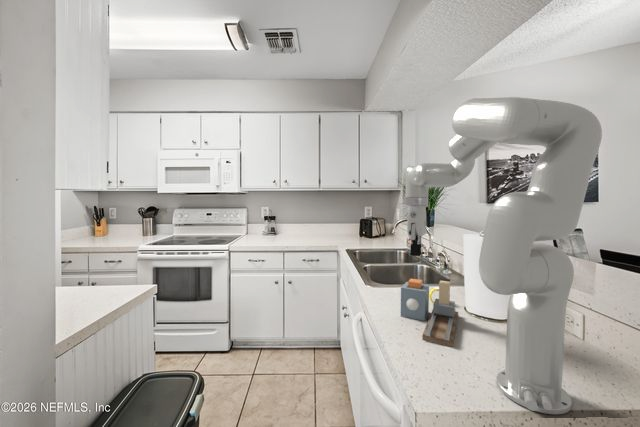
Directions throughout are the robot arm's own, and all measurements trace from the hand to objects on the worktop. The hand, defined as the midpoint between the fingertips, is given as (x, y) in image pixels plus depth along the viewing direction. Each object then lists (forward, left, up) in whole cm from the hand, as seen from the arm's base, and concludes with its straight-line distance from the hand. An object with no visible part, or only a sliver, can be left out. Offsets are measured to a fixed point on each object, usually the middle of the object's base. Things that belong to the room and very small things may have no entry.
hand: (415, 255), depth 99 cm
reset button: (0, 0, -12) cm, 12 cm away
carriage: (-1, -9, -18) cm, 20 cm away
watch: (+15, -6, -21) cm, 27 cm away
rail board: (-6, -10, -21) cm, 24 cm away
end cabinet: (0, 0, -21) cm, 21 cm away
